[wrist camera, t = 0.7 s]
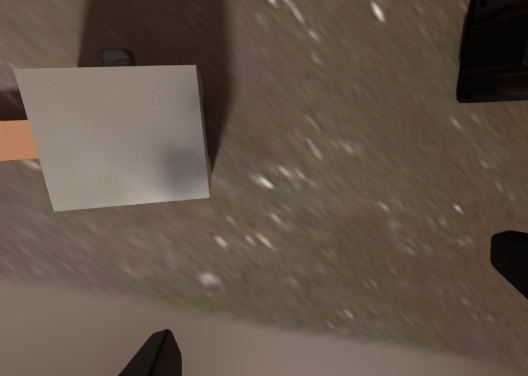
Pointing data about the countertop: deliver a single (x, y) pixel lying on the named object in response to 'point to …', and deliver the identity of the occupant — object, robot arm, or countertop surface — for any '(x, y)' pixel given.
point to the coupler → (16, 140)
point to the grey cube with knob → (118, 132)
